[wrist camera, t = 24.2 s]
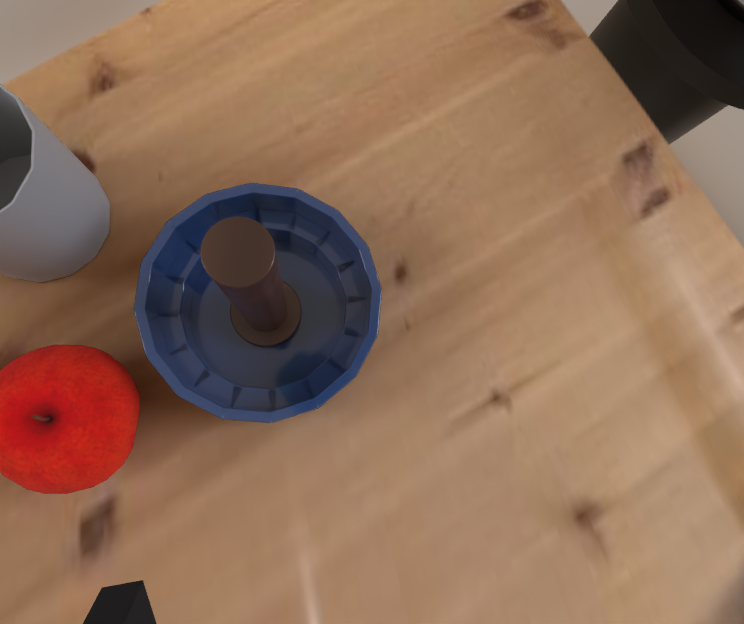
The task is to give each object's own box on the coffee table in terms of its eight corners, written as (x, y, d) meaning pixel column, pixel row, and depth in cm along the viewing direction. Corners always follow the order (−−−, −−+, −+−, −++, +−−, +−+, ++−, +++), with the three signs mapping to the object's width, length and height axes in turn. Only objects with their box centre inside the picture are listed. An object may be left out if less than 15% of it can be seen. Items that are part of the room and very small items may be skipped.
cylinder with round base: (290, 272, 35) (281, 179, 20) (309, 336, 35) (315, 293, 19) (224, 290, 35) (159, 208, 19) (243, 356, 34) (192, 328, 18)
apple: (171, 459, 33) (134, 480, 26) (36, 498, 32) (-42, 530, 25) (143, 336, 34) (100, 321, 27) (10, 368, 33) (-72, 362, 26)
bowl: (335, 196, 37) (341, 160, 31) (392, 380, 36) (410, 379, 30) (141, 245, 35) (108, 217, 29) (194, 443, 34) (171, 455, 28)
